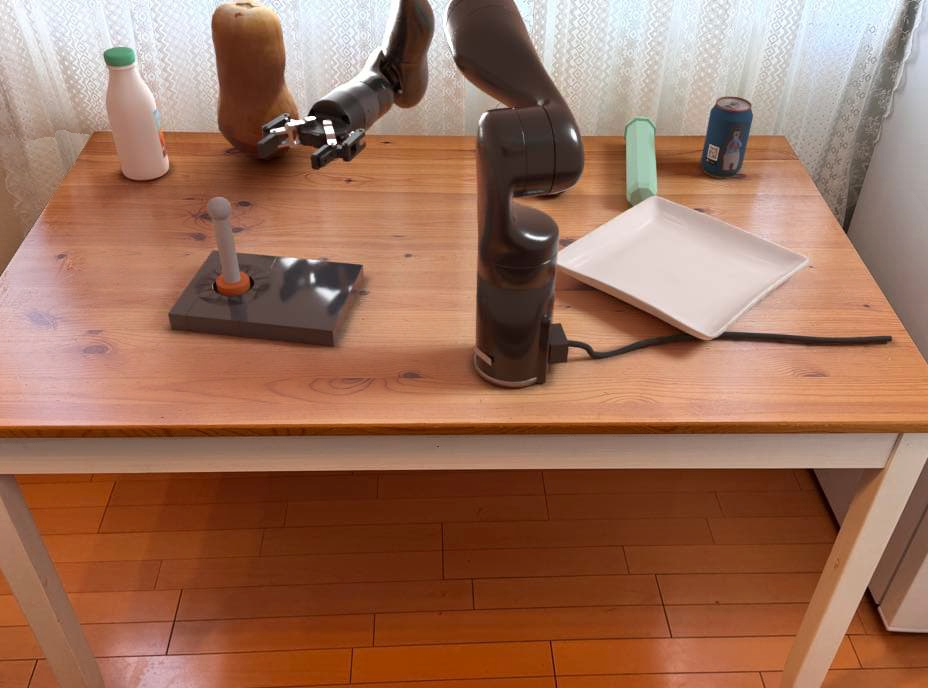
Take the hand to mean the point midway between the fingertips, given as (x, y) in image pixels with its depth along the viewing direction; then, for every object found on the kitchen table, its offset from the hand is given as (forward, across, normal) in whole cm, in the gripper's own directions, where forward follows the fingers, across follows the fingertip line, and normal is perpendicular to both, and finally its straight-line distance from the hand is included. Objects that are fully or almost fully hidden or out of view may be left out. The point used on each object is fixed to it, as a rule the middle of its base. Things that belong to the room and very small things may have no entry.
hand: (286, 157), depth 125 cm
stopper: (+15, -1, +15) cm, 21 cm away
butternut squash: (-25, -23, +15) cm, 37 cm away
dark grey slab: (+13, +4, +15) cm, 20 cm away
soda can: (-53, +52, +15) cm, 75 cm away
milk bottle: (-11, -37, +15) cm, 41 cm away
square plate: (-16, +53, +15) cm, 57 cm away
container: (-45, +39, +15) cm, 61 cm away
